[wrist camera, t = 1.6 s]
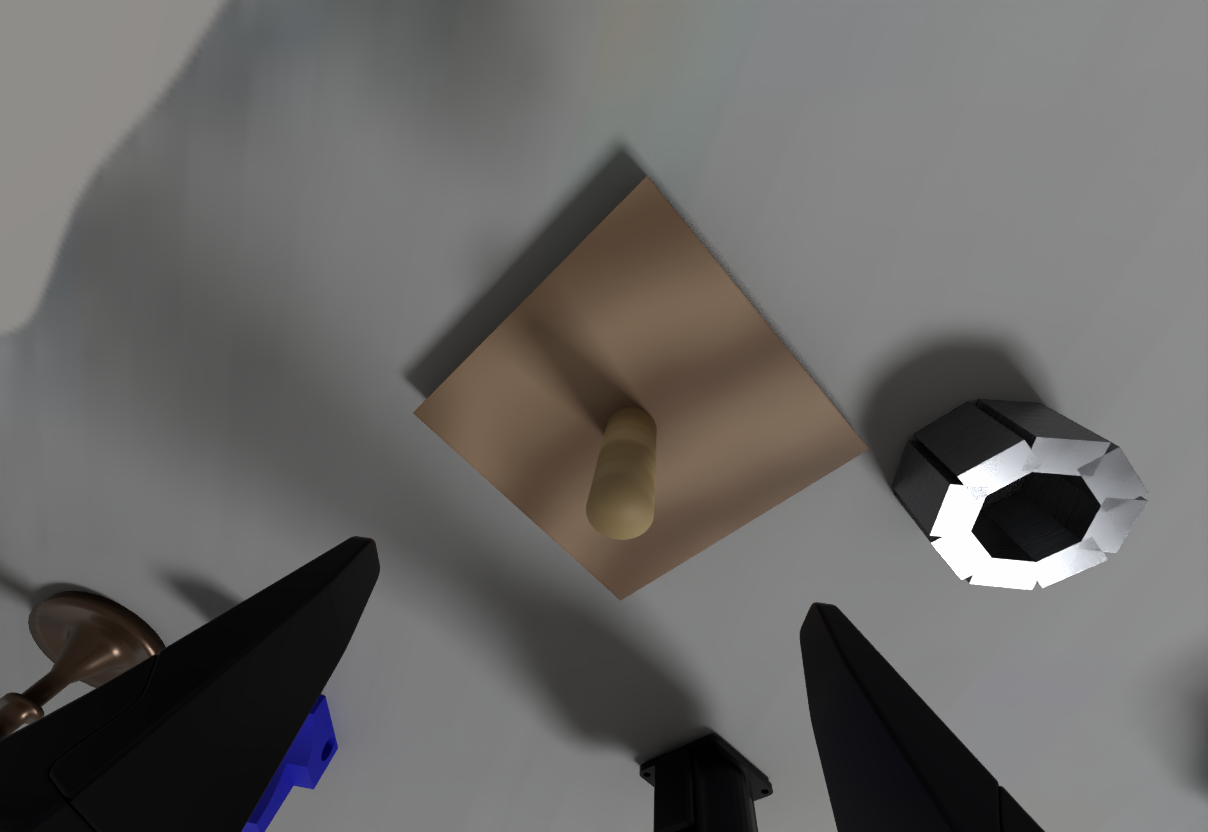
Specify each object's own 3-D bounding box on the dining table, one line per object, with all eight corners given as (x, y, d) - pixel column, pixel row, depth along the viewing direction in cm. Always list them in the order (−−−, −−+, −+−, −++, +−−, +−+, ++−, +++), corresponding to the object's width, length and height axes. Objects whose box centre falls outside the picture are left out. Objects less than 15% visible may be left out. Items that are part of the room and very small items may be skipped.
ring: (1096, 480, 21) (1173, 531, 18) (944, 556, 24) (988, 612, 20) (1022, 369, 19) (1092, 403, 16) (867, 462, 22) (901, 507, 19)
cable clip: (339, 745, 37) (283, 840, 31) (283, 735, 37) (218, 828, 32) (312, 633, 32) (240, 724, 26) (248, 622, 32) (163, 710, 27)
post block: (855, 433, 21) (944, 542, 15) (622, 579, 26) (608, 712, 20) (648, 177, 18) (639, 166, 11) (427, 400, 23) (329, 484, 16)
